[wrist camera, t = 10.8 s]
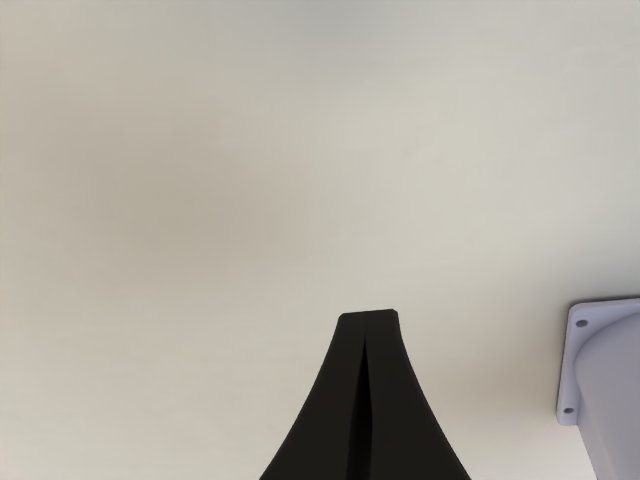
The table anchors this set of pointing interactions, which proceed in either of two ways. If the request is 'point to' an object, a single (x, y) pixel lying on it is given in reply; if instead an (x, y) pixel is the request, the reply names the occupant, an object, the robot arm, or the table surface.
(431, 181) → the table surface
